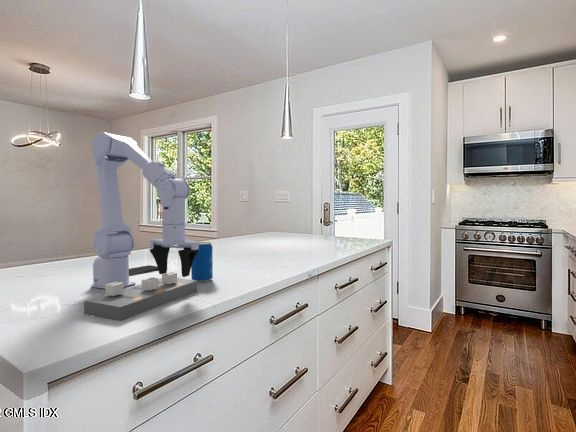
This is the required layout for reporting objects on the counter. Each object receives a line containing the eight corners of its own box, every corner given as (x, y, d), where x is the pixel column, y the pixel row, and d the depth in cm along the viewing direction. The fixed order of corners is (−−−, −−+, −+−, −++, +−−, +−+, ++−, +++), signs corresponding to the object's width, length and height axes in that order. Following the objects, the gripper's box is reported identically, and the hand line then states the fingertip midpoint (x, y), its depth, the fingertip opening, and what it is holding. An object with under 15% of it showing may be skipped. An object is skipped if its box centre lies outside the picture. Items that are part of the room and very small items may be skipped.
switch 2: (141, 289, 86) (141, 279, 85) (150, 286, 88) (150, 276, 88) (149, 290, 85) (149, 280, 84) (158, 287, 87) (158, 277, 87)
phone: (162, 267, 126) (123, 274, 114) (162, 270, 126) (123, 278, 114) (149, 265, 131) (110, 271, 118) (149, 268, 131) (110, 275, 118)
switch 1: (105, 294, 81) (105, 284, 80) (116, 291, 83) (116, 281, 83) (113, 296, 80) (113, 285, 80) (124, 292, 82) (123, 282, 82)
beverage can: (207, 283, 106) (207, 244, 105) (187, 282, 107) (187, 243, 106) (215, 278, 112) (215, 241, 111) (197, 277, 113) (197, 241, 113)
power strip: (84, 314, 77) (83, 300, 77) (177, 283, 106) (177, 273, 106) (120, 321, 73) (120, 306, 73) (208, 286, 102) (208, 276, 101)
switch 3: (162, 283, 92) (161, 273, 92) (169, 280, 95) (169, 271, 95) (169, 284, 91) (169, 274, 91) (177, 281, 94) (177, 272, 94)
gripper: (141, 223, 91) (141, 275, 91) (186, 226, 85) (186, 280, 86) (160, 222, 97) (161, 270, 98) (203, 224, 92) (203, 275, 92)
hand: (174, 274), depth 92 cm, fingers open, 7 cm apart
